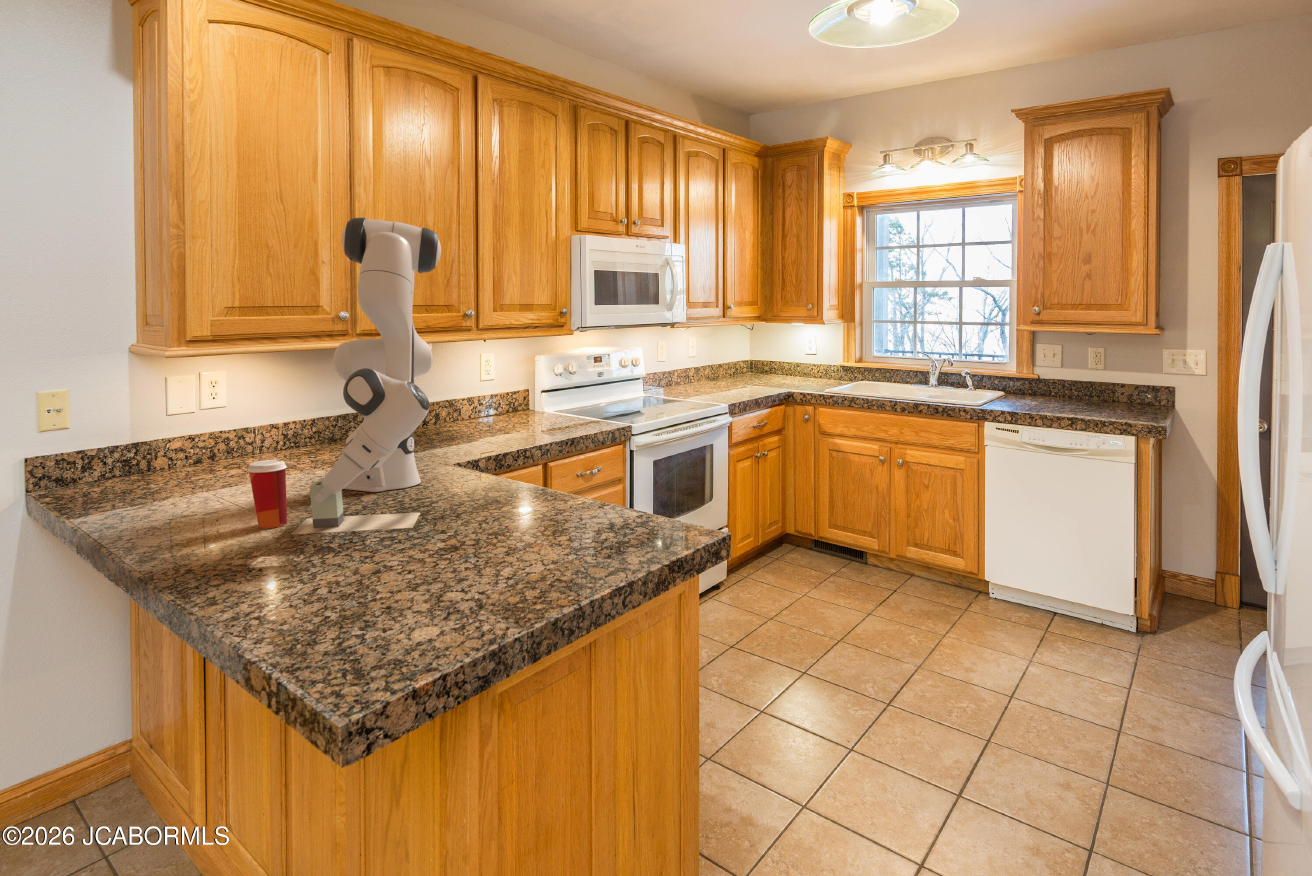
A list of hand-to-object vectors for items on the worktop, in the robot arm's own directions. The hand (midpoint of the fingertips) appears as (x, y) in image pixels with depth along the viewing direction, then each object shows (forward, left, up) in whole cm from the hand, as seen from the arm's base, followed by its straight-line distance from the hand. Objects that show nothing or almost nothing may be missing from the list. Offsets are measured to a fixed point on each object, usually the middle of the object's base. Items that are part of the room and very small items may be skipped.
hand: (323, 495), depth 160 cm
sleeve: (+1, 0, -6) cm, 6 cm away
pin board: (+6, +2, -8) cm, 10 cm away
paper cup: (-15, +2, -8) cm, 17 cm away
